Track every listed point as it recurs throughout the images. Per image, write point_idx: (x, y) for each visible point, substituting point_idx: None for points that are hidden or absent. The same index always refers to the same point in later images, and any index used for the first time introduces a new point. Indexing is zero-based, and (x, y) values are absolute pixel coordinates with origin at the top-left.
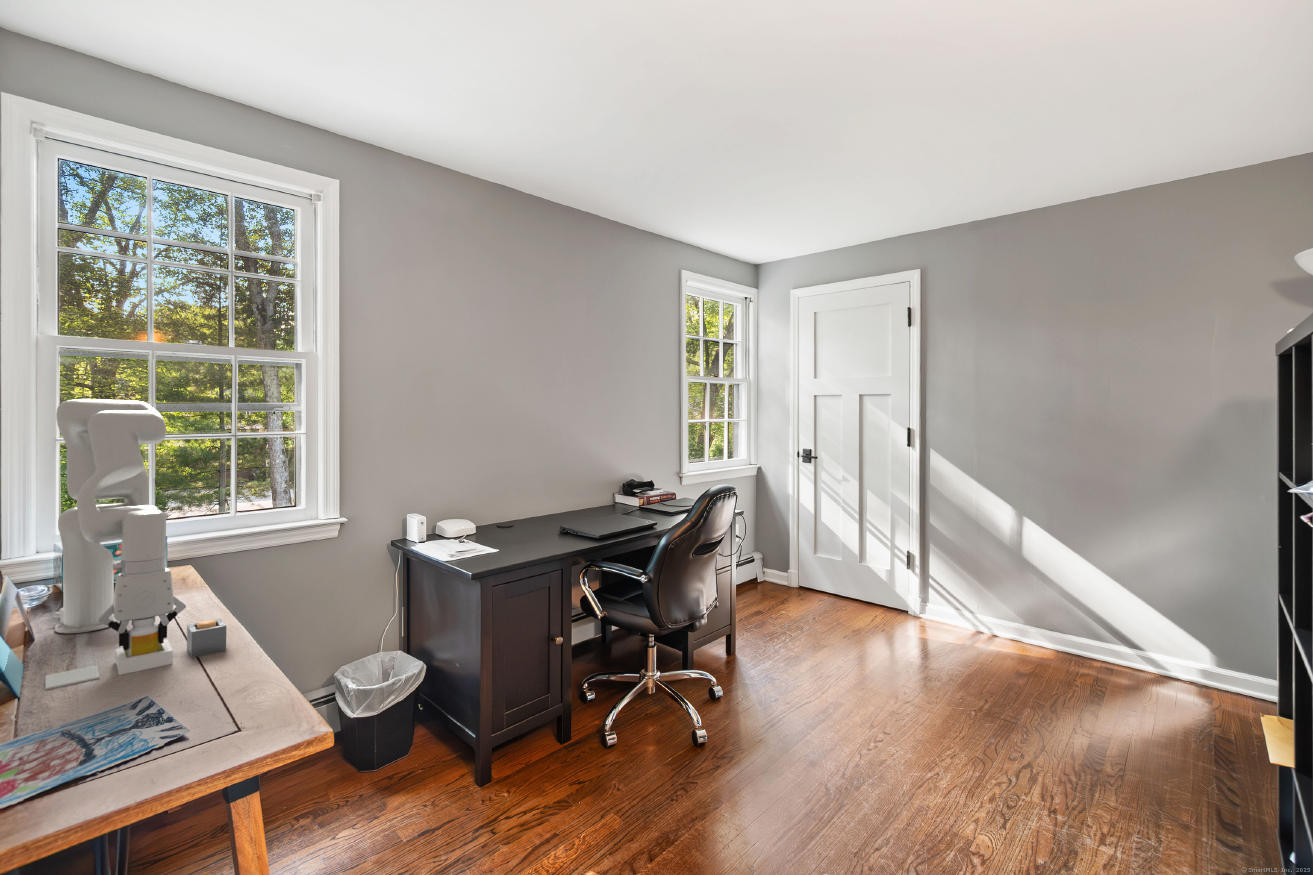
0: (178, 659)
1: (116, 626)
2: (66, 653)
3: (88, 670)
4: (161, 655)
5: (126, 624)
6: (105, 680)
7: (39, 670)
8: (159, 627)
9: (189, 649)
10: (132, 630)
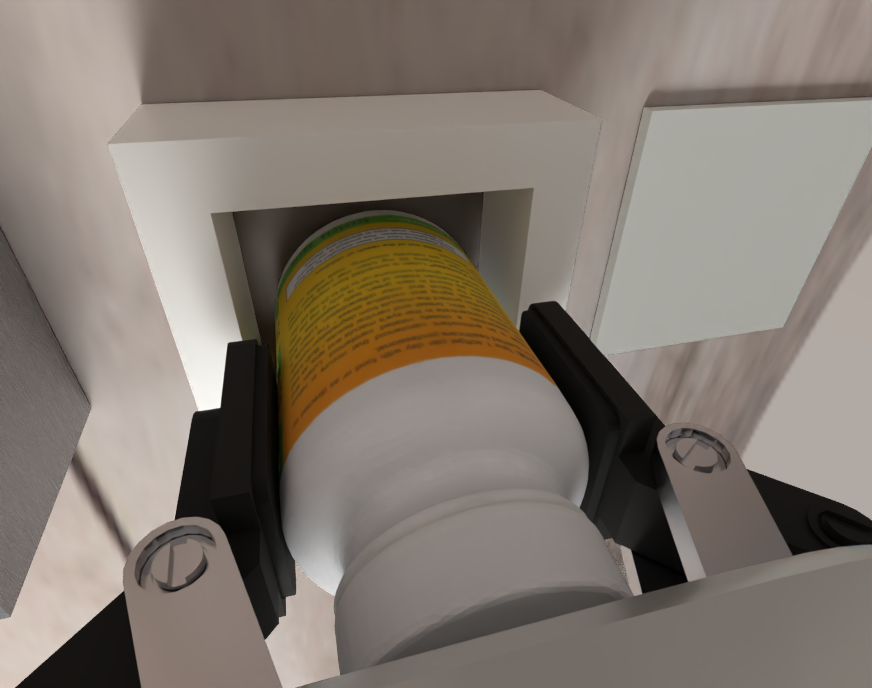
0: (107, 203)
1: (775, 509)
2: (616, 551)
3: (649, 288)
4: (233, 131)
5: (702, 523)
6: (632, 17)
7: (743, 419)
8: (269, 494)
9: (17, 319)
10: (572, 460)
